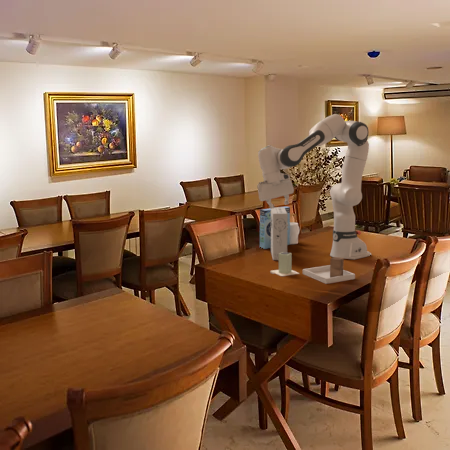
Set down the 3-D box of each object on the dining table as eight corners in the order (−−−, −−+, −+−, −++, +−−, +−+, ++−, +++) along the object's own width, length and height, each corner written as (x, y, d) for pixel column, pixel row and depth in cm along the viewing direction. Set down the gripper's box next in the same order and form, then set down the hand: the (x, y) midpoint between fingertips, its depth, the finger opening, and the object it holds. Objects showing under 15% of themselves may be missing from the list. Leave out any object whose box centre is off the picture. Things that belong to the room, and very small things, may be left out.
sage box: (283, 270, 242) (283, 251, 241) (291, 271, 240) (291, 252, 238) (278, 272, 239) (278, 253, 237) (287, 273, 236) (287, 254, 235)
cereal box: (287, 260, 265) (287, 213, 261) (272, 260, 266) (272, 213, 261) (284, 250, 287) (284, 207, 282) (270, 250, 287) (270, 207, 282)
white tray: (330, 271, 244) (330, 265, 243) (354, 280, 228) (355, 274, 227) (302, 275, 237) (302, 269, 236) (326, 285, 221) (326, 278, 220)
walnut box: (333, 275, 233) (334, 256, 231) (343, 277, 230) (343, 258, 229) (329, 278, 229) (330, 258, 228) (339, 279, 227) (339, 260, 225)
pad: (288, 270, 246) (288, 268, 246) (299, 275, 237) (299, 273, 237) (270, 272, 242) (270, 270, 242) (281, 278, 233) (281, 275, 233)
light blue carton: (284, 243, 305) (285, 206, 301) (290, 244, 301) (290, 207, 297) (259, 247, 295) (259, 209, 290) (264, 249, 290) (264, 210, 286)
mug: (294, 239, 315) (295, 221, 313) (304, 242, 308) (305, 222, 306) (281, 242, 308) (281, 223, 306) (291, 244, 301) (291, 225, 299)
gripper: (260, 181, 238) (267, 209, 239) (291, 174, 250) (298, 201, 250) (252, 184, 244) (259, 211, 244) (283, 176, 255) (290, 203, 255)
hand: (279, 206), depth 247 cm, fingers open, 8 cm apart
